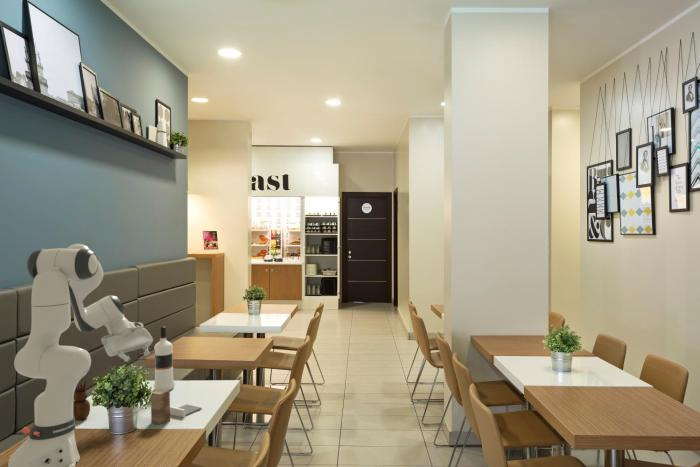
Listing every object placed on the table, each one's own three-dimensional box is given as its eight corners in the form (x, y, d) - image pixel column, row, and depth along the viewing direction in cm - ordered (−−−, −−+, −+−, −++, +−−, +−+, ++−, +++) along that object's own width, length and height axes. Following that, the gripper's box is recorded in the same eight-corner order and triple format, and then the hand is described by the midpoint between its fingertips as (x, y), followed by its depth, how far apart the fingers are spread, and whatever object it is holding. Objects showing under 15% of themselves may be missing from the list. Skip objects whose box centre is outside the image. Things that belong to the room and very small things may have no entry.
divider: (183, 417, 206) (183, 410, 206) (163, 412, 212) (163, 405, 212) (185, 416, 206) (184, 409, 206) (164, 412, 212) (164, 404, 212)
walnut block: (160, 424, 199) (159, 394, 198) (151, 422, 201) (150, 392, 201) (170, 420, 203) (169, 390, 203) (161, 418, 205) (161, 388, 205)
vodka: (172, 391, 239) (170, 328, 239) (151, 392, 238) (150, 329, 237) (176, 385, 248) (175, 324, 248) (156, 386, 247) (155, 325, 247)
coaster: (185, 416, 207) (185, 414, 207) (170, 412, 212) (170, 411, 212) (201, 409, 215) (201, 407, 215) (186, 405, 219) (186, 404, 219)
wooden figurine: (93, 416, 209) (92, 380, 209) (84, 421, 203) (83, 384, 203) (77, 415, 210) (76, 379, 209) (68, 421, 204) (67, 384, 204)
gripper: (102, 332, 202) (118, 359, 198) (145, 322, 220) (161, 347, 216) (95, 342, 205) (112, 369, 200) (138, 331, 223) (154, 356, 218)
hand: (138, 357), depth 208 cm, fingers open, 8 cm apart
